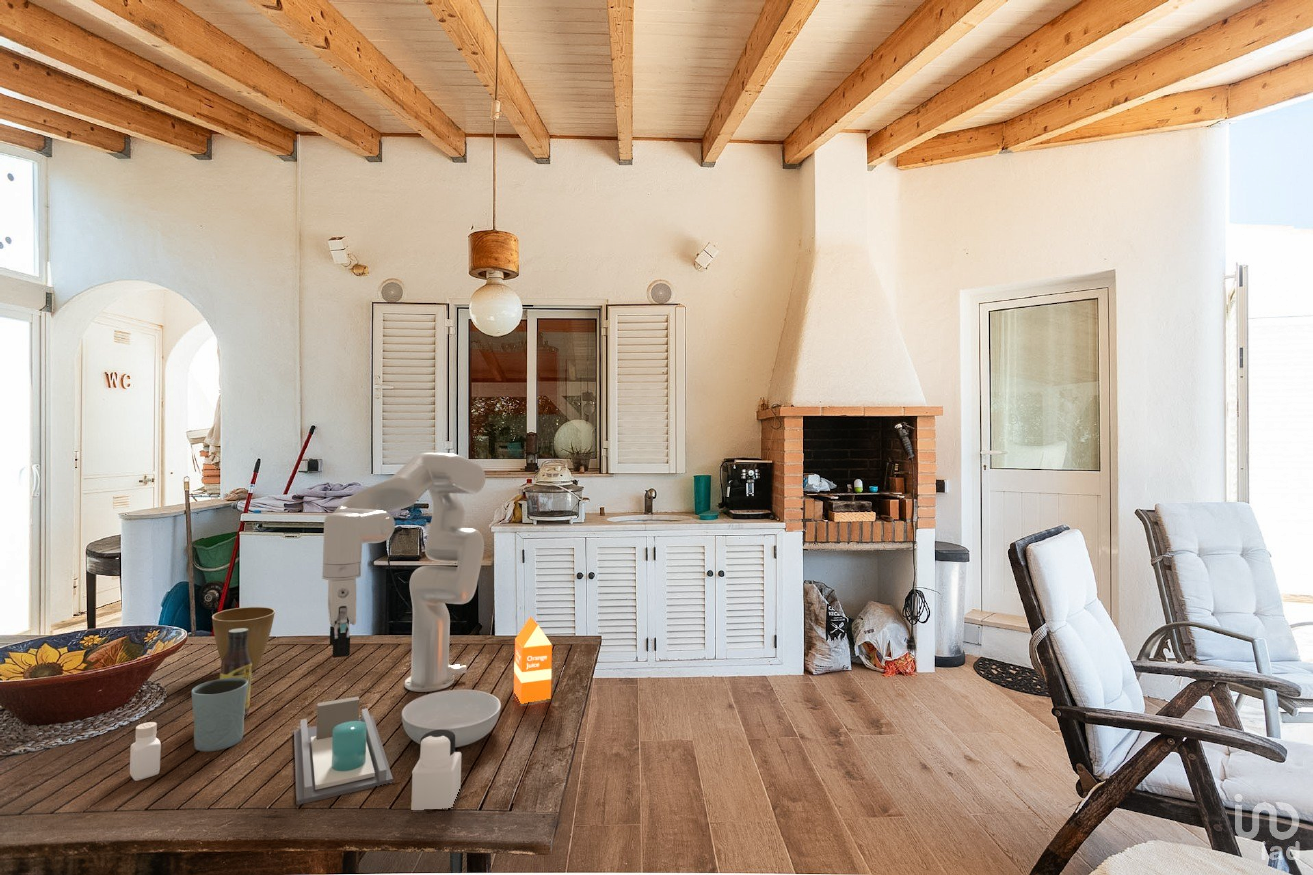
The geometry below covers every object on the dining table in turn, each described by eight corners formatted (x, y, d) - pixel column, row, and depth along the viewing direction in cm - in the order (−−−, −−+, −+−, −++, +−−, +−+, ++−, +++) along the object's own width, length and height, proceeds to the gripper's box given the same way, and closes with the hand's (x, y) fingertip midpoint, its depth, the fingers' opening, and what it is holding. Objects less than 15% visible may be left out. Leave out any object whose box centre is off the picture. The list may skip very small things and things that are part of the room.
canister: (363, 753, 129) (364, 718, 129) (367, 766, 124) (368, 730, 124) (330, 760, 126) (331, 724, 126) (332, 774, 121) (333, 736, 121)
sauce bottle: (233, 722, 146) (236, 635, 146) (210, 719, 147) (213, 633, 147) (256, 711, 152) (259, 627, 152) (234, 708, 153) (237, 625, 154)
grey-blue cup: (202, 757, 129) (204, 698, 130) (180, 744, 135) (182, 687, 135) (255, 738, 138) (257, 683, 138) (232, 727, 143) (234, 673, 144)
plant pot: (199, 681, 170) (201, 621, 170) (223, 662, 184) (225, 607, 185) (262, 677, 173) (264, 618, 174) (280, 659, 188) (282, 605, 188)
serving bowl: (406, 770, 126) (407, 735, 127) (396, 727, 145) (396, 697, 145) (510, 749, 136) (511, 716, 136) (488, 712, 155) (489, 683, 155)
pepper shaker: (154, 767, 125) (156, 719, 125) (160, 774, 123) (162, 724, 123) (128, 775, 122) (130, 725, 122) (134, 782, 119) (135, 731, 120)
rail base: (372, 719, 149) (373, 707, 149) (392, 782, 121) (393, 767, 121) (294, 733, 141) (294, 720, 141) (296, 804, 113) (296, 789, 113)
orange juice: (520, 707, 158) (522, 626, 158) (513, 694, 166) (515, 617, 166) (551, 702, 161) (553, 623, 161) (542, 690, 169) (544, 614, 169)
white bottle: (421, 790, 119) (423, 725, 119) (460, 789, 120) (462, 725, 120) (410, 812, 112) (412, 743, 112) (451, 811, 113) (453, 742, 113)
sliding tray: (362, 731, 141) (363, 695, 141) (374, 776, 122) (375, 735, 122) (310, 740, 136) (311, 703, 136) (315, 789, 117) (316, 746, 117)
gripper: (365, 576, 132) (362, 659, 132) (357, 562, 147) (354, 637, 147) (324, 579, 128) (321, 664, 128) (320, 564, 143) (317, 641, 143)
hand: (339, 649), depth 137 cm, fingers open, 9 cm apart
